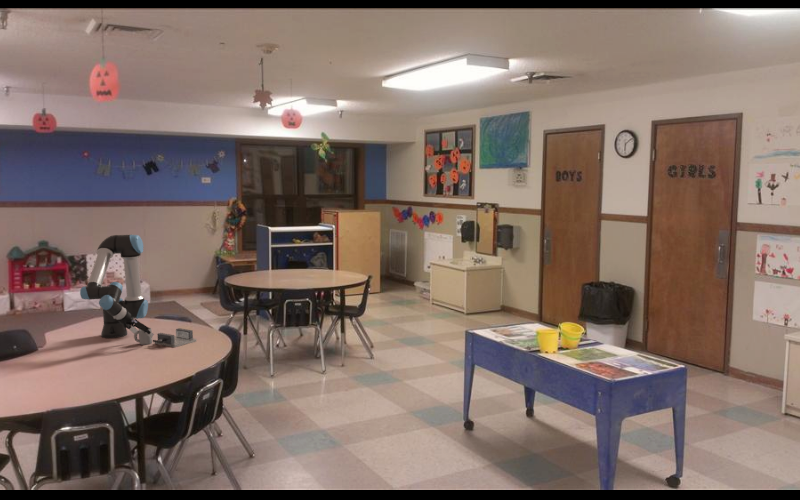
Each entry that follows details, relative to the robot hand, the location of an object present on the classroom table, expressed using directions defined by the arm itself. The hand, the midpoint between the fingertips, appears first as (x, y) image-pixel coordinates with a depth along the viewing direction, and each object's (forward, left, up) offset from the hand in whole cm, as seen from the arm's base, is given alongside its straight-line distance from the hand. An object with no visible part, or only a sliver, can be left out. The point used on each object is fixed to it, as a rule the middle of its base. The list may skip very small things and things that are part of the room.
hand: (145, 334), depth 384 cm
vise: (+15, +7, -5) cm, 17 cm away
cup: (0, -1, -5) cm, 6 cm away
